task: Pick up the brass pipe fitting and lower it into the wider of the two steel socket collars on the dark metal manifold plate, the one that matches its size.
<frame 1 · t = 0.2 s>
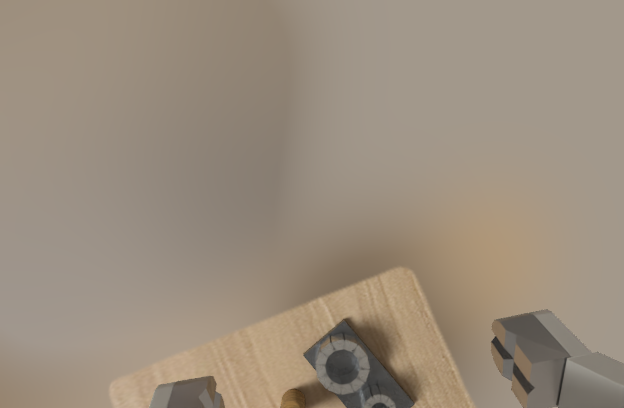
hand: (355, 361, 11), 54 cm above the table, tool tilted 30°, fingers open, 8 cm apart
brass fitting: (293, 401, 63), on the table
manifold plate: (358, 377, 63), on the table
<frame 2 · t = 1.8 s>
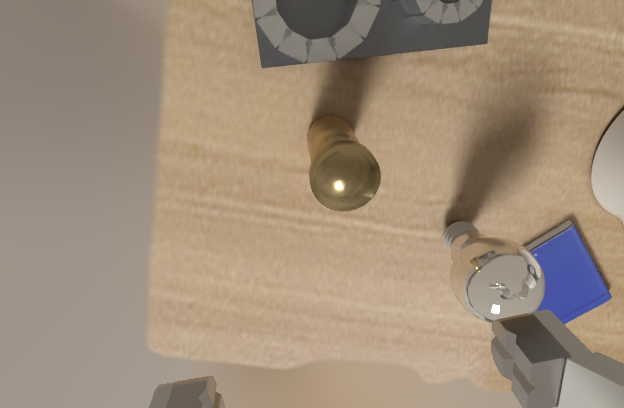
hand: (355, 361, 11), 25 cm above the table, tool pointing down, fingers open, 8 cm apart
brass fitting: (329, 137, 33), on the table
light bulb: (453, 228, 38), on the table
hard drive: (550, 274, 43), on the table
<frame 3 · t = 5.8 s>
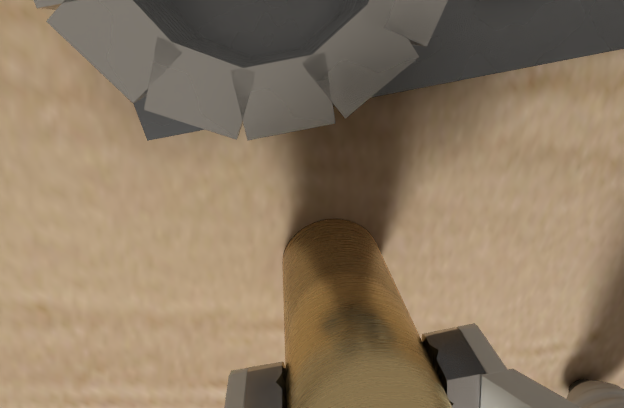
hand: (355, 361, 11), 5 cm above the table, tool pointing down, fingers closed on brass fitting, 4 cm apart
brass fitting: (331, 262, 15), on the table, touching gripper
light bulb: (576, 382, 20), on the table
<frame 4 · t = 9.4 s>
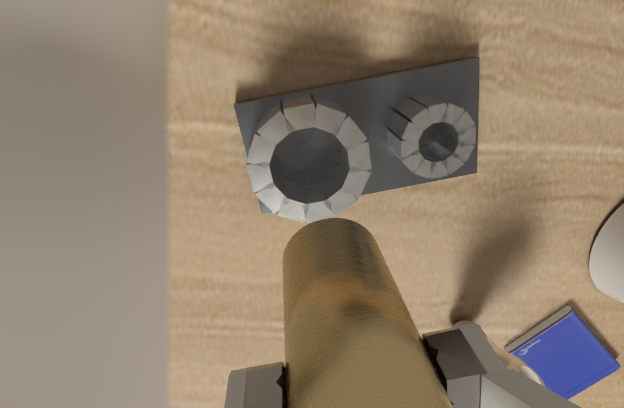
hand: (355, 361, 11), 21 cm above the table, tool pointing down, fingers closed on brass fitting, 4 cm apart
brass fitting: (331, 261, 15), point 16 cm above the table, touching gripper
light bulb: (458, 323, 39), on the table
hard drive: (556, 349, 43), on the table
manifold plate: (360, 137, 30), on the table
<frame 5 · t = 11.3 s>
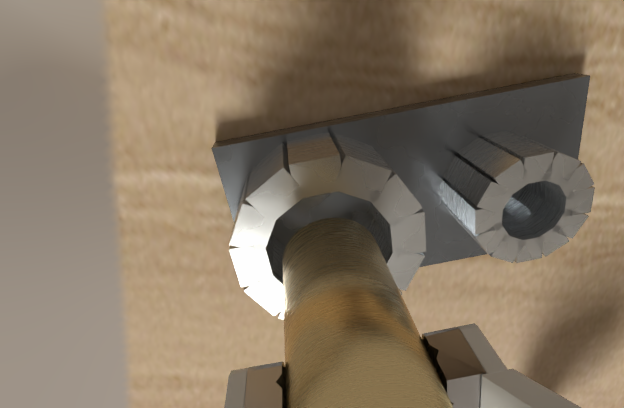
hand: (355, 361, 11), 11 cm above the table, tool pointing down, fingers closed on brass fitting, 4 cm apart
brass fitting: (331, 260, 15), point 5 cm above the table, touching gripper
manifold plate: (401, 190, 20), on the table
when the fingers open (7 cm above the table, at t = 13.2 s): brass fitting stays where it is, resting on manifold plate.
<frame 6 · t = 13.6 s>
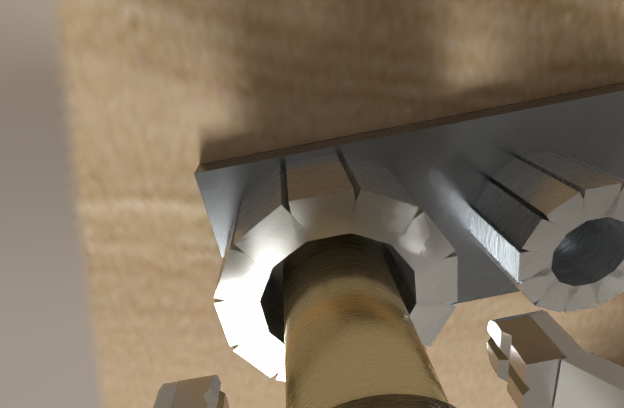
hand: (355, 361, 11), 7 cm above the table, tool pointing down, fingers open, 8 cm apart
brass fitting: (328, 248, 16), point 1 cm above the table, touching manifold plate
manifold plate: (420, 218, 17), on the table
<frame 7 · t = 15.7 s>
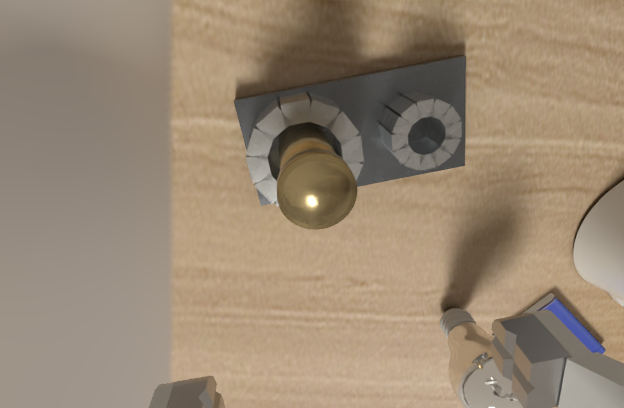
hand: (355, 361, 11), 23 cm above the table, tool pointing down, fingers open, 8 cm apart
brass fitting: (303, 145, 30), point 1 cm above the table, touching manifold plate
light bulb: (449, 311, 41), on the table
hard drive: (543, 335, 45), on the table
manifold plate: (354, 132, 31), on the table
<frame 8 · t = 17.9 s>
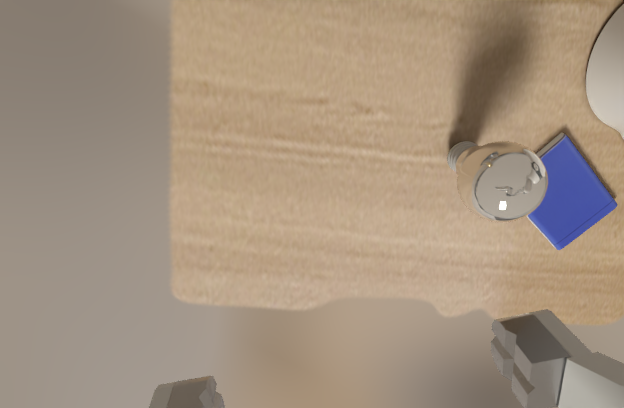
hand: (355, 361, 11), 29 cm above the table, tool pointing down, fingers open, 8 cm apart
light bulb: (456, 152, 40), on the table
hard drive: (552, 191, 44), on the table
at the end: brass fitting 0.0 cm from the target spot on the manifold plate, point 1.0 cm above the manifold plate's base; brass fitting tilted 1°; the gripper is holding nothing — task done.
